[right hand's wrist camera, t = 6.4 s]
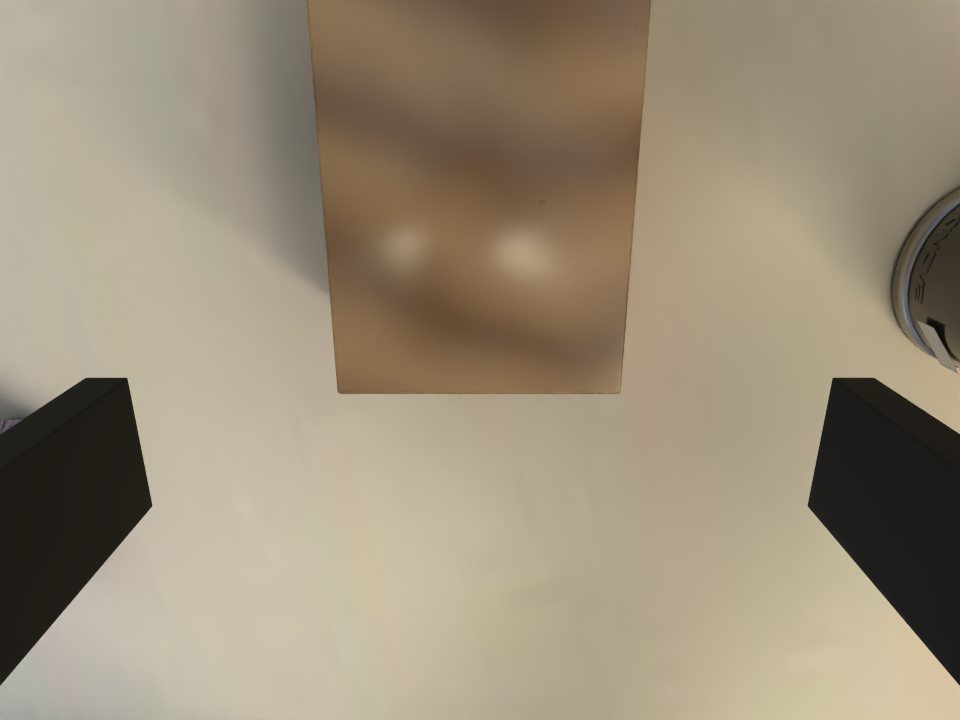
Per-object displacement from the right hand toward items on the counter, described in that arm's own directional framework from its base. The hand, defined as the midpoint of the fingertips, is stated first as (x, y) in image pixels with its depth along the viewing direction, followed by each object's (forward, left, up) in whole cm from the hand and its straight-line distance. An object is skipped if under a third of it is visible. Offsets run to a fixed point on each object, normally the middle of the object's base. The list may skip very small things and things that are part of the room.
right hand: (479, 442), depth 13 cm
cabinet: (+3, -4, -20) cm, 21 cm away
